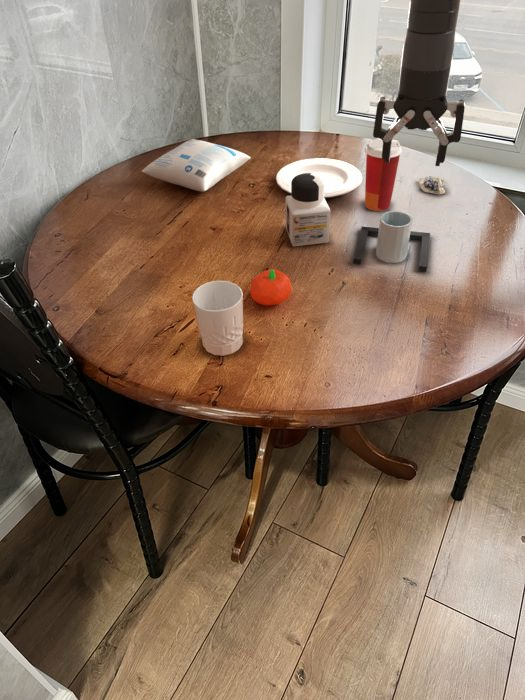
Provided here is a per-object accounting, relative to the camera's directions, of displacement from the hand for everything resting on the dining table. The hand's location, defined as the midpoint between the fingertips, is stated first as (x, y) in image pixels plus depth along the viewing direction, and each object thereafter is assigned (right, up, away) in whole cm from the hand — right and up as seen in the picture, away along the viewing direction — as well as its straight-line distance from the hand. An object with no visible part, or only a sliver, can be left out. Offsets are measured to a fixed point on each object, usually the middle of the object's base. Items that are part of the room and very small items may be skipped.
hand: (412, 162), depth 94 cm
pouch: (-42, +10, +42) cm, 60 cm away
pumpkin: (-25, -24, +5) cm, 35 cm away
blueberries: (+14, +6, +34) cm, 37 cm away
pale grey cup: (0, -14, +14) cm, 19 cm away
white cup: (-33, -32, -3) cm, 46 cm away
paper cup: (0, 0, +29) cm, 29 cm away
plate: (-13, +8, +37) cm, 40 cm away
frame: (0, -13, +14) cm, 19 cm away
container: (-17, -9, +20) cm, 28 cm away
